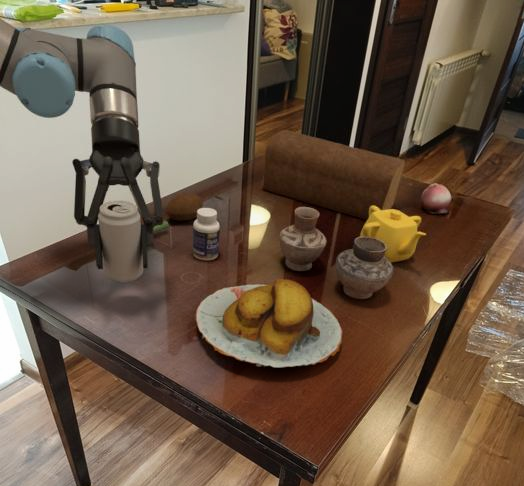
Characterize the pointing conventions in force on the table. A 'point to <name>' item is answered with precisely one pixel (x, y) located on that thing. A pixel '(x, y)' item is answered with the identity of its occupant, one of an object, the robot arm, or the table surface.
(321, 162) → the bread
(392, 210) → the teapot
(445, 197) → the pink peach
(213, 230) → the pill bottle
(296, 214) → the pottery
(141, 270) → the beverage can
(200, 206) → the potato
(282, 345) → the food on plate
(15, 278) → the table surface
